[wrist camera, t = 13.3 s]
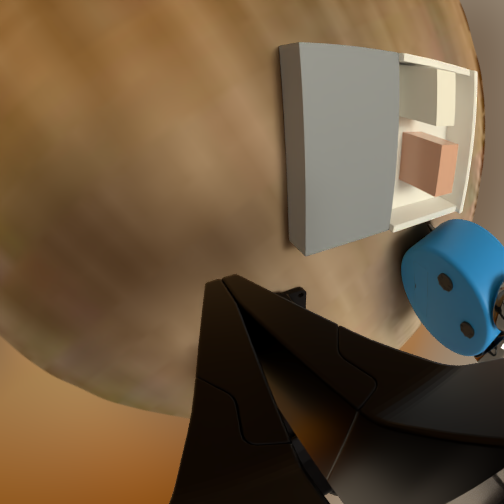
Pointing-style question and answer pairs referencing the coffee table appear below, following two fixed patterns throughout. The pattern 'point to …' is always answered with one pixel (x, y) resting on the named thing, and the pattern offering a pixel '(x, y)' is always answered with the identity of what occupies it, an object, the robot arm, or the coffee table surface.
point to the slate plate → (339, 142)
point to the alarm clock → (459, 288)
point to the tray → (411, 198)
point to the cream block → (427, 95)
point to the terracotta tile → (428, 162)
